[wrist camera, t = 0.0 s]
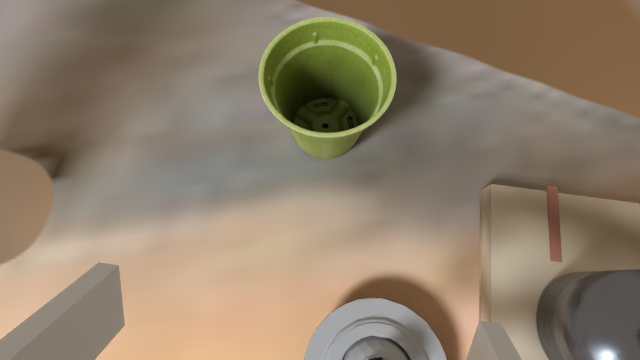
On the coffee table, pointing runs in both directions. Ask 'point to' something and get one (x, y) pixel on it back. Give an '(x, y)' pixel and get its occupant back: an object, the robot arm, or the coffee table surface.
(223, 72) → the coffee table surface
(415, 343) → the grey joystick
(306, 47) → the plant pot
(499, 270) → the wooden cutting board
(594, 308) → the saucepan with lid
